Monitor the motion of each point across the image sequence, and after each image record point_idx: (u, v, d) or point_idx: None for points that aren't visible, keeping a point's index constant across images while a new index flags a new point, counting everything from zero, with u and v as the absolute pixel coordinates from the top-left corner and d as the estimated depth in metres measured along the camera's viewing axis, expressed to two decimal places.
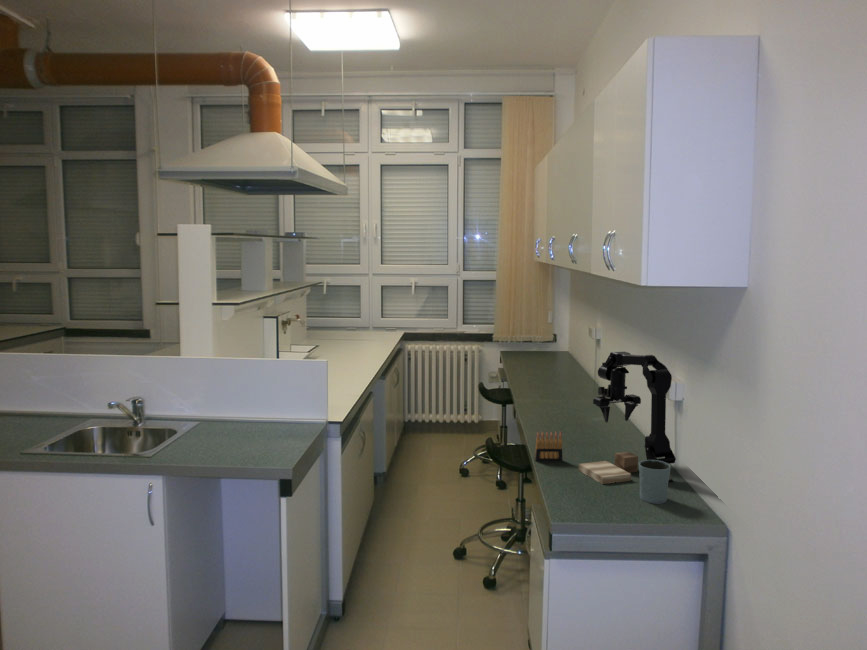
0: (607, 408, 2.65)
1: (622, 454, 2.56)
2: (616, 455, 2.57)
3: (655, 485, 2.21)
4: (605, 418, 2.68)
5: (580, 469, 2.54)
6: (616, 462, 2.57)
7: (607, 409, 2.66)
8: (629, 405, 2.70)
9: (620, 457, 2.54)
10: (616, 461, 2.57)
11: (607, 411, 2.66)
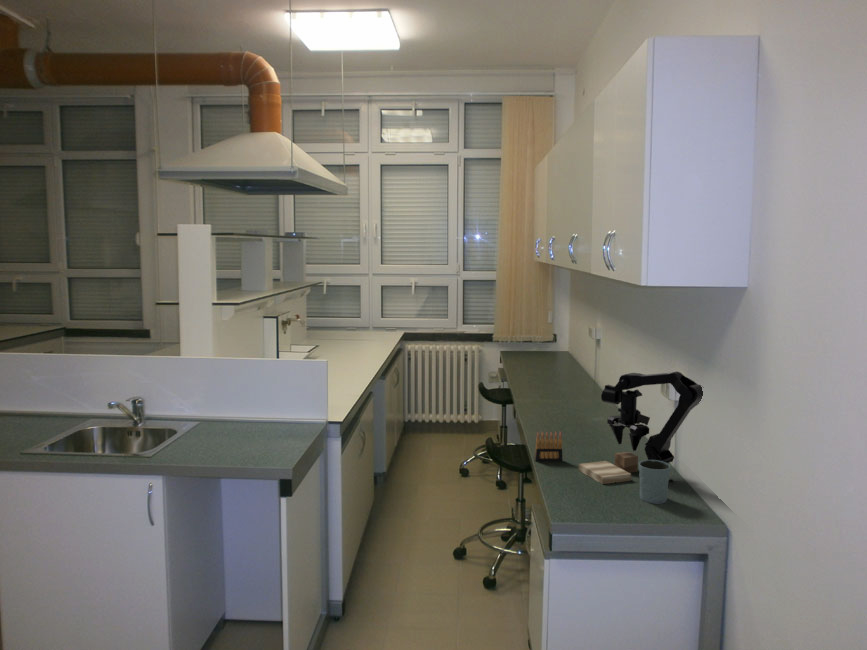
0: (611, 427, 2.59)
1: (622, 454, 2.56)
2: (616, 455, 2.57)
3: (655, 485, 2.21)
4: None
5: (580, 469, 2.54)
6: (616, 462, 2.57)
7: (612, 428, 2.59)
8: None
9: (620, 457, 2.54)
10: (616, 461, 2.57)
11: (613, 430, 2.59)
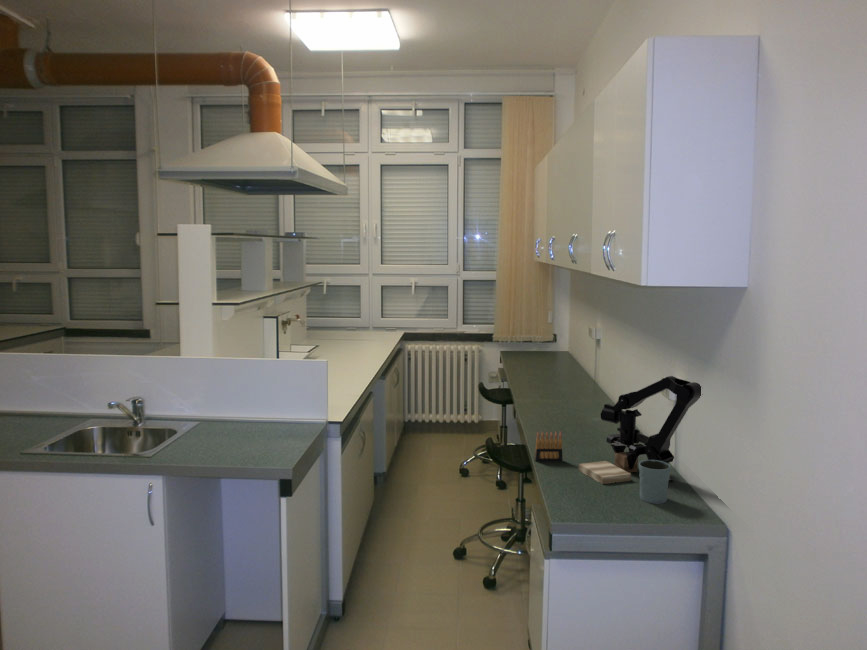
0: (612, 447, 2.59)
1: (622, 454, 2.56)
2: (616, 455, 2.57)
3: (655, 485, 2.21)
4: None
5: (580, 469, 2.54)
6: (616, 462, 2.57)
7: (613, 448, 2.59)
8: None
9: (620, 457, 2.54)
10: (616, 461, 2.57)
11: (614, 450, 2.59)
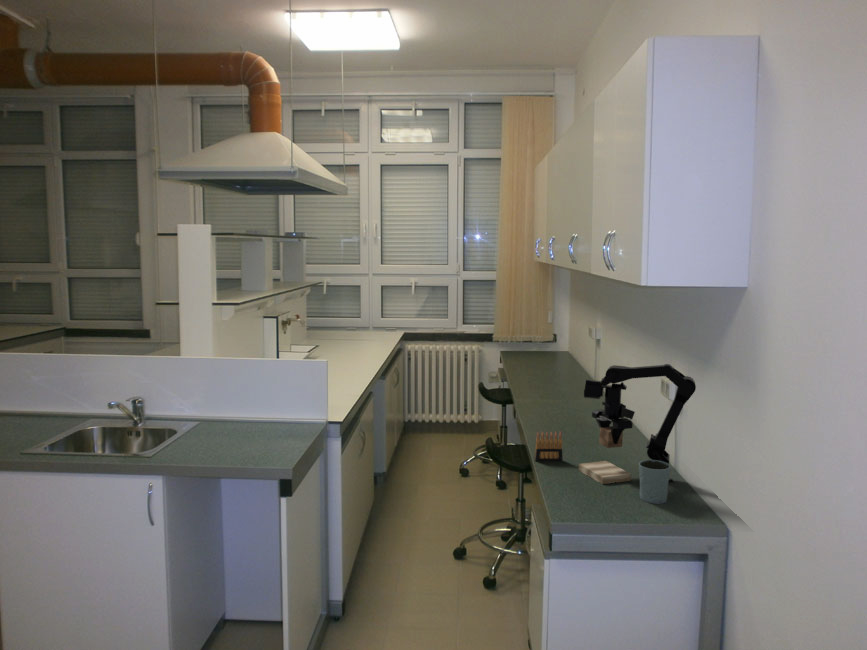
0: (597, 422, 2.53)
1: (607, 428, 2.50)
2: (601, 429, 2.51)
3: (655, 485, 2.21)
4: None
5: (580, 469, 2.54)
6: (601, 437, 2.51)
7: (598, 423, 2.53)
8: None
9: (604, 431, 2.49)
10: (600, 436, 2.51)
11: (599, 425, 2.53)
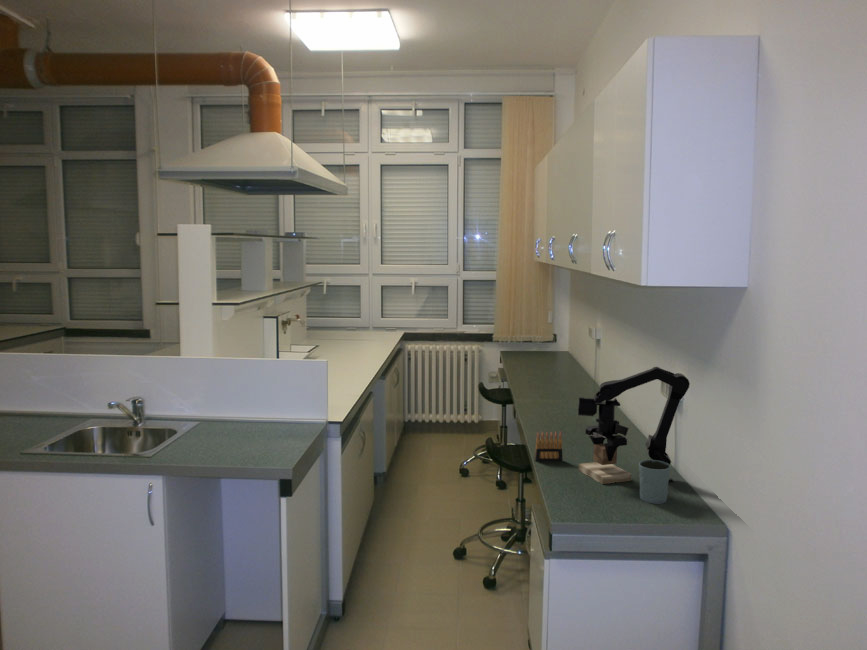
0: (591, 438, 2.52)
1: (601, 445, 2.49)
2: (595, 446, 2.49)
3: (655, 485, 2.21)
4: None
5: (580, 469, 2.54)
6: (595, 454, 2.50)
7: (592, 440, 2.52)
8: None
9: (599, 448, 2.47)
10: (594, 453, 2.50)
11: (593, 442, 2.52)
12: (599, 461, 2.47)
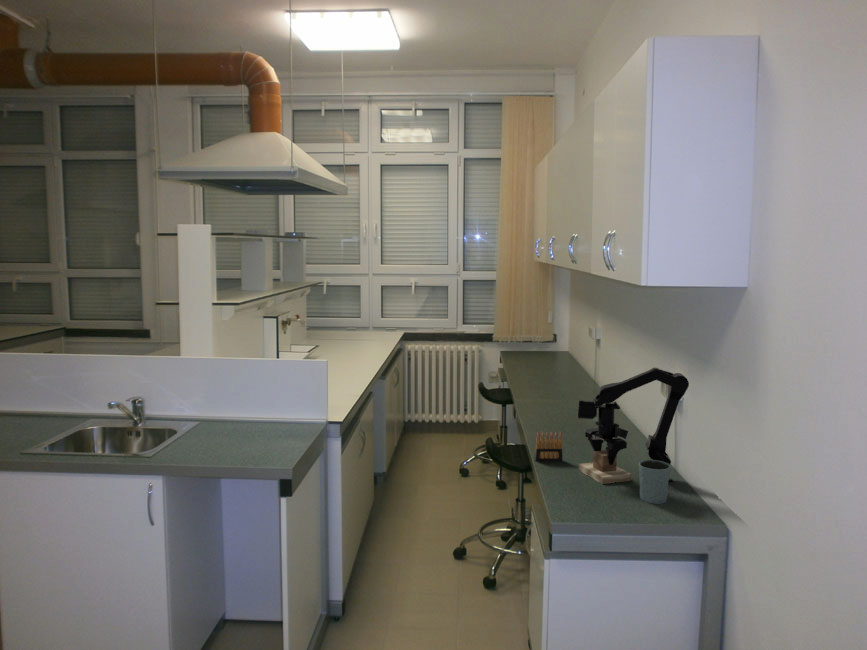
0: (590, 441, 2.53)
1: (601, 452, 2.49)
2: (594, 453, 2.50)
3: (655, 485, 2.21)
4: None
5: (580, 469, 2.54)
6: (594, 460, 2.50)
7: (590, 442, 2.53)
8: None
9: (598, 455, 2.47)
10: (594, 459, 2.50)
11: (591, 444, 2.53)
12: (599, 468, 2.47)
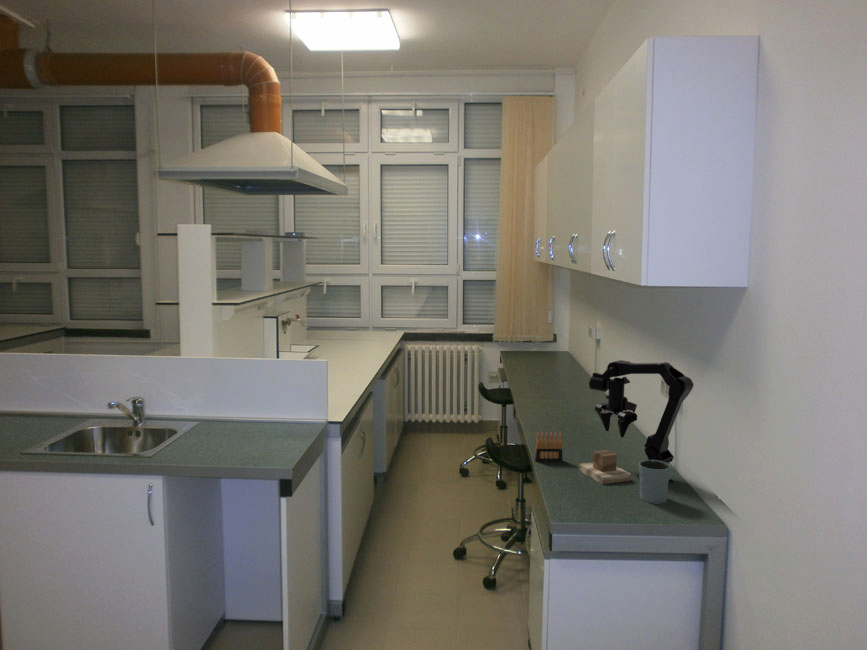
0: (599, 414, 2.61)
1: (601, 452, 2.49)
2: (594, 453, 2.50)
3: (655, 485, 2.21)
4: None
5: (580, 469, 2.54)
6: (594, 460, 2.50)
7: (599, 415, 2.61)
8: None
9: (598, 455, 2.47)
10: (594, 459, 2.50)
11: (600, 418, 2.61)
12: (599, 468, 2.47)
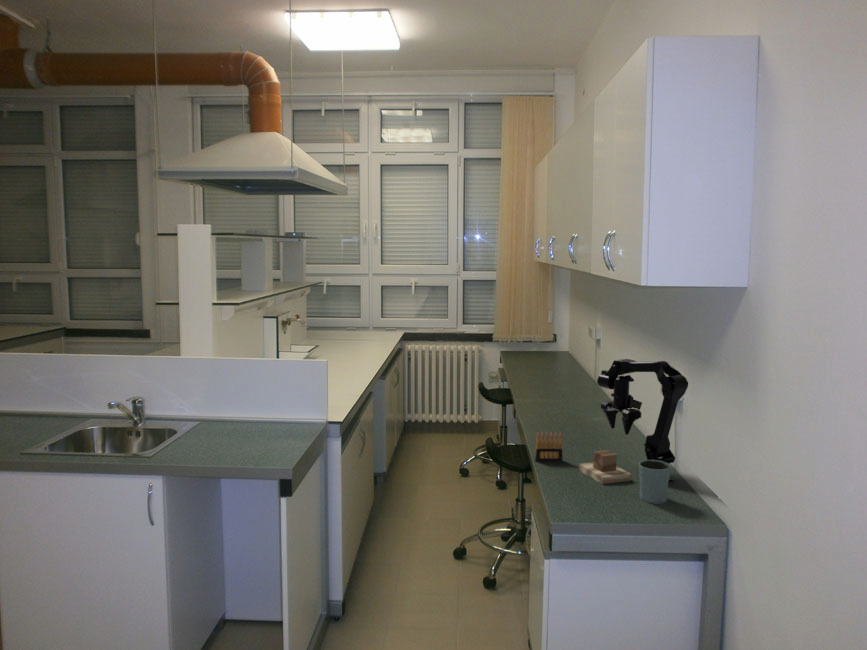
0: (605, 412, 2.66)
1: (601, 452, 2.49)
2: (594, 453, 2.50)
3: (655, 485, 2.21)
4: None
5: (580, 469, 2.54)
6: (594, 460, 2.50)
7: (605, 413, 2.66)
8: None
9: (598, 455, 2.47)
10: (594, 459, 2.50)
11: (606, 415, 2.66)
12: (599, 468, 2.47)
